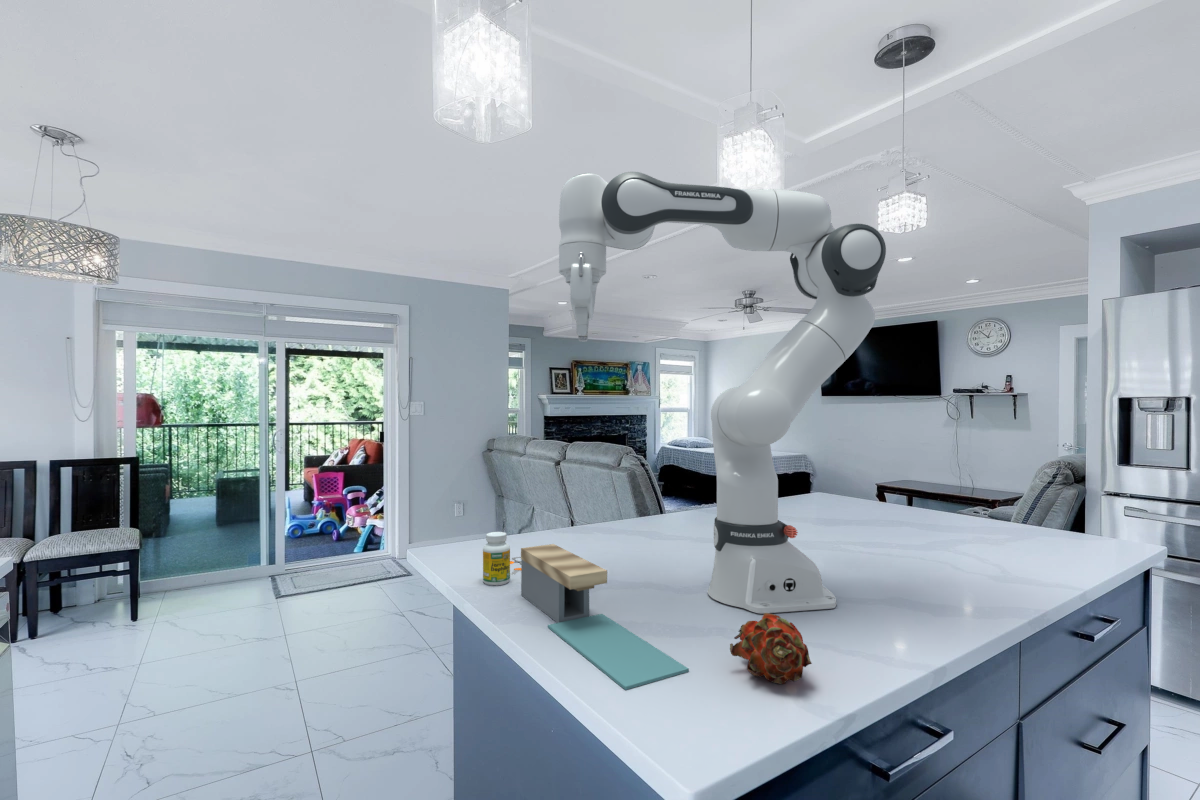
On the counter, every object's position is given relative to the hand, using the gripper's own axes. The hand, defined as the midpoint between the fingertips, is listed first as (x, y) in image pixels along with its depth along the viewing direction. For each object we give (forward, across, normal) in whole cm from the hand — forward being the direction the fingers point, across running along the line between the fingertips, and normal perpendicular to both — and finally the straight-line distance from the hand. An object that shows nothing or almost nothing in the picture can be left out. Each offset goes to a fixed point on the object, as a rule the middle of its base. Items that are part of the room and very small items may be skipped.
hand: (582, 338), depth 107 cm
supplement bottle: (+48, +8, +17) cm, 52 cm away
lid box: (+48, -5, +5) cm, 48 cm away
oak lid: (+42, -8, +3) cm, 42 cm away
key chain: (+48, +20, +14) cm, 54 cm away
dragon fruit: (+48, -31, -26) cm, 63 cm away
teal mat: (+48, -23, -5) cm, 53 cm away
